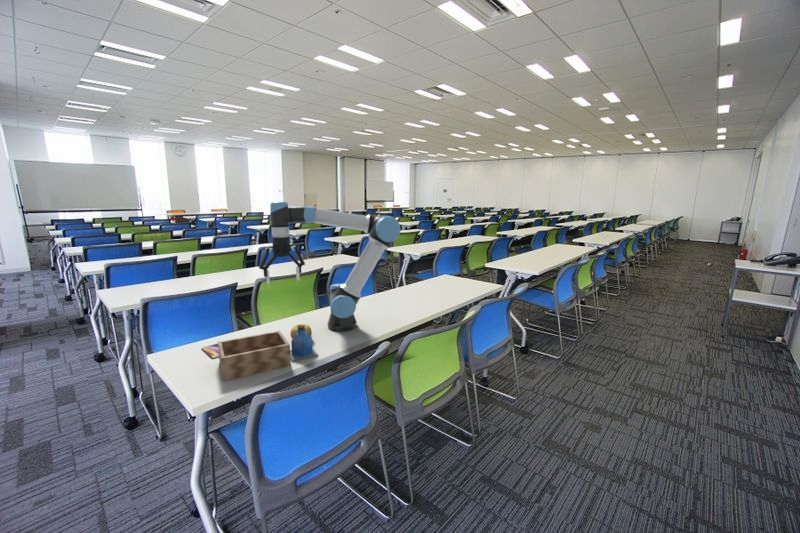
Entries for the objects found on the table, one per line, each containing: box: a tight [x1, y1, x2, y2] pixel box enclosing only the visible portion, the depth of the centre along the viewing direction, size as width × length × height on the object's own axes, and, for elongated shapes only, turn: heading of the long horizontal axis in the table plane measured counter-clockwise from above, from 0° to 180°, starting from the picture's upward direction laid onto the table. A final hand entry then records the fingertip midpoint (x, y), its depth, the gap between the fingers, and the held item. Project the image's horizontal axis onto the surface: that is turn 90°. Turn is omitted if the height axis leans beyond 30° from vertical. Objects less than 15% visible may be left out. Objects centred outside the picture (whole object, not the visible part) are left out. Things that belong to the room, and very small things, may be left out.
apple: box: [290, 323, 313, 340], centre depth 162 cm, size 10×10×8 cm
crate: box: [217, 330, 292, 382], centre depth 138 cm, size 24×17×9 cm
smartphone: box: [200, 343, 219, 360], centre depth 150 cm, size 8×1×15 cm
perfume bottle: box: [290, 325, 313, 357], centre depth 147 cm, size 6×6×12 cm
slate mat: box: [290, 347, 319, 363], centre depth 148 cm, size 11×11×1 cm
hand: (283, 282), depth 159 cm, fingers open, 13 cm apart
